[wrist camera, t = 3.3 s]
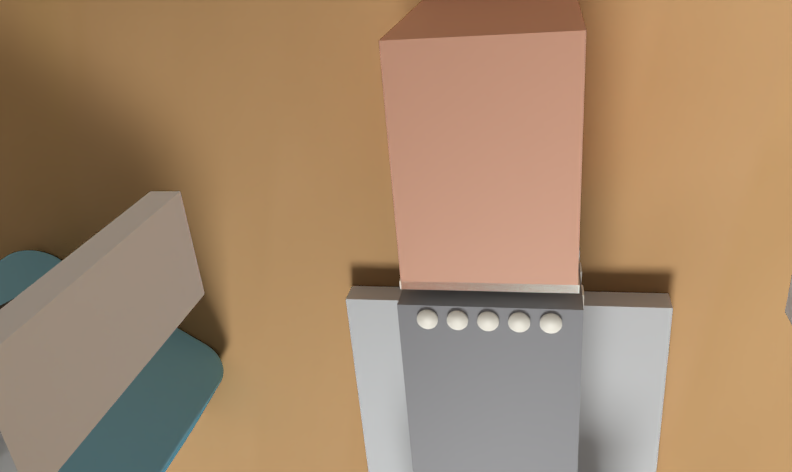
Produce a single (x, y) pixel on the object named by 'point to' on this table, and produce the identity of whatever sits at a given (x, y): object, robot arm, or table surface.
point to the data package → (135, 392)
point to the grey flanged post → (510, 379)
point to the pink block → (486, 143)
